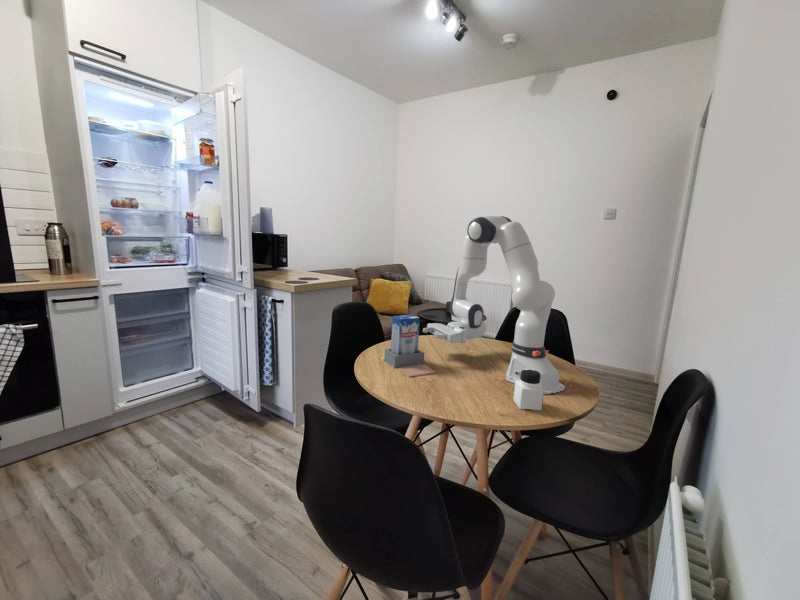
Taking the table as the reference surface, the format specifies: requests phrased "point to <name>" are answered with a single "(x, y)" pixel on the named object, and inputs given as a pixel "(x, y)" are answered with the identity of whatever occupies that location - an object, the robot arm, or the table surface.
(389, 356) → the carton holder
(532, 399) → the medicine bottle
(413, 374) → the terracotta tile
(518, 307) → the robot arm
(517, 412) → the table surface
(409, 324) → the milk carton
